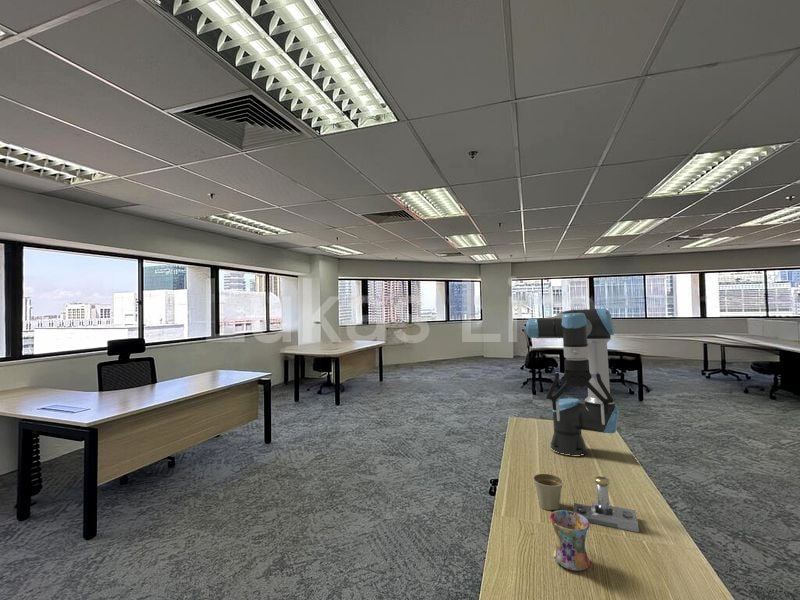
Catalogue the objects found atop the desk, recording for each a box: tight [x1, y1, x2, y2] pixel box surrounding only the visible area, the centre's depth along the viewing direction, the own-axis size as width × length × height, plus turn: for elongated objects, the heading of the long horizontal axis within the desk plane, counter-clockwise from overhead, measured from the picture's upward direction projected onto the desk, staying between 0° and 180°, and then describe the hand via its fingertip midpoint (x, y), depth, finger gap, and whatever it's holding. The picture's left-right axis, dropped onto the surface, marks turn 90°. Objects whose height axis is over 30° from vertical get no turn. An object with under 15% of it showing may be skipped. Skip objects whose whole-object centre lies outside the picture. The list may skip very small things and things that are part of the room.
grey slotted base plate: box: [572, 502, 640, 533], centre depth 111 cm, size 8×17×3 cm, turn 62°
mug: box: [549, 509, 591, 572], centre depth 94 cm, size 12×9×11 cm
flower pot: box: [532, 472, 564, 511], centre depth 120 cm, size 9×9×9 cm
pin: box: [594, 476, 610, 516], centre depth 111 cm, size 4×4×12 cm
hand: (580, 421), depth 122 cm, fingers open, 13 cm apart
